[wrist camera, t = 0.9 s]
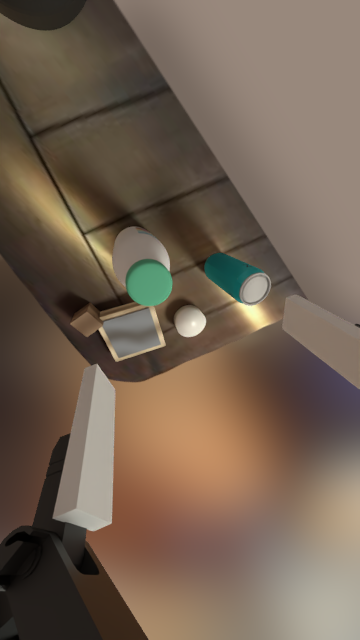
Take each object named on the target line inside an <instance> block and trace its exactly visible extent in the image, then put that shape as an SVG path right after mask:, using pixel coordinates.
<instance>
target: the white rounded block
mask: <svg viewBox="0 0 360 640" xmlns="http://www.w3.org/2000/svg"><path fill="white" fill-rule="evenodd" d="M174 324H175V326H176V328H177V330H178V332H179V333H180V334H181V335H182V336H185V337H192V336H195V335H197V334H199V333H200V332H201V331H202V330H203V329H204V327H205V324H206V319H205V316H204V315H203V313H202V312H201V311H200V310H199V308H197V307H196V306H194V305H186V306H183V307H181V308H180V309H178V310H177V312H176V313H175V315H174Z"/></svg>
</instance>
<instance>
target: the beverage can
mask: <svg viewBox="0 0 360 640" xmlns="http://www.w3.org/2000/svg"><path fill="white" fill-rule="evenodd" d="M204 268H205V274H206V276H207V277H208V278H209V279H210V280H212V281H213V282H214V283H215V284H217V285H218V286H219V287H220V288H222V289H223V290H224V291H225V292H227V293H228V294H229V295H231V296H232V297H233V298H234V299H236V300H237V301H238V302H240V303H244V304H246V305H256V304H258V303H260V302H261V301H263V300H264V299H265V297H266V296H267V295H268V293H269V291H270V288H271V281H270V278H269V277H268V276H267V275H266V274H265V273H264V272H263V271H262V270H261V269H258V268H256V267H254V266H251V265H249V264H247V263H245V262H242V261H240V260H238V259H235V258H233V257H231V256H228V255H226V254H224V253H216V254H213V255H211V256H210V257H208V258H207V260H206V262H205V266H204Z"/></svg>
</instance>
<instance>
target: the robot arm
mask: <svg viewBox="0 0 360 640" xmlns="http://www.w3.org/2000/svg"><path fill="white" fill-rule="evenodd" d="M85 2H86V0H0V13H1V14H3V15H4V16H6V17H8V18H9V19H11V20H13V21H14V22H17V23H19V24H21V25H23V26H26V27H29V28H32V29H37V30H54V29H58V28H61V27H63V26H65V25H67V24H68V23H70V22H71V21H72V20H73V19H74V18H75V17H76V16H77V15H78V14H79V12H80V11H81V9H82V8H83V6H84V4H85ZM282 329H283V330H284V331H286V332H287V333H288V334H289V335H291V336H292V337H293V338H295V339H296V340H297V341H298V342H300V343H301V344H302V345H303V346H305V347H306V348H307V349H309V350H310V351H311V352H312V353H314V354H315V355H316V356H317V357H319V358H320V359H321V360H323V361H324V362H325V363H326V364H328V365H329V366H330V367H332V368H333V369H334V370H335V371H337V372H338V373H339V374H340V375H342V376H343V377H344V378H346V379H347V380H348V381H349V382H351V383H352V384H353V385H354V386H356V387H357V388H358V389H360V325H359V324H355V325H353V324H351V323H349V322H347V321H346V320H344V319H342V318H340V317H338V316H336V315H334V314H332V313H330V312H328V311H327V310H325V309H323V308H321V307H319V306H317V305H315V304H313V303H311V302H310V301H308V300H306V299H304V298H302V297H300V296H298V295H293V296H290V297H287V298H286V303H285V310H284V318H283V326H282ZM114 421H115V389H114V387H113V386H112V384H111V383H110V382H109V380H108V379H107V377H106V376H105V374H104V373H103V372H102V370H101V369H100V367H99V366H98V365H97V364H95V365H92V366H90V367H87V368H85V369H84V374H83V378H82V383H81V388H80V393H79V398H78V402H77V406H76V411H75V416H74V420H73V425H72V430H71V433H70V434H67V435H65V436H62V437H60V439H59V441H58V442H57V444H56V446H55V448H54V449H53V452H52V455H51V459H50V463H49V465H50V466H49V467H48V470H47V474H46V479H45V481H44V485H43V488H42V492H41V496H40V500H39V503H38V507H37V511H36V514H35V518H34V522H33V525H32V526H20V527H19V528H17V529H15V530H13V531H12V532H11V533H10V534H9V535H8V536H7V537H6V538H5V539H4V540H3V541H2V543H1V544H0V640H148V638H147V636H146V635H145V633H144V632H143V630H142V628H141V627H140V625H139V624H138V622H137V620H136V619H135V617H134V616H133V614H132V612H131V611H130V609H129V608H128V606H127V604H126V603H125V601H124V600H123V598H122V597H121V595H120V593H119V592H118V590H117V588H116V587H115V585H114V584H113V582H112V580H111V579H110V577H109V576H108V574H107V572H106V571H105V569H104V567H103V566H102V564H101V563H100V561H99V560H98V558H97V556H96V555H95V553H94V551H93V550H92V548H91V547H90V545H89V543H88V542H87V541H85V538H86V529H88V530H91V531H95V530H98V529H100V528H102V527H104V526H106V525H109V524H111V523H112V499H113V458H114Z"/></svg>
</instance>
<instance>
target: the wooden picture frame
mask: <svg viewBox="0 0 360 640" xmlns="http://www.w3.org/2000/svg"><path fill="white" fill-rule="evenodd" d="M99 318H100V319H101V320H102V321H103V322H104V324H103V326H102V327H101V328H99V331H100V333H101V335H102V336H103V338H104V340H105V342H106V344H107V346H108V348H109V350H110V351H111V353H112V355H113V357H114V359H115V361H116V362H117V361H120V360H123V359H126V358H130V357H133V356H136V355H139V354H142V353H145V352H148V351H151V350H154V349H157V348H160V347H163V346H166V344H165V341H164V338H163V335H162V331H161V328H160V325H159V321H158V318H157V315H156V312H155V308H154V306H144V305H140V304H138V303H137V302H132V303H129V304H125V305H122V306H118V307H115V308H111V309H108V310H105V311H101V312H100V315H99Z"/></svg>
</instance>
